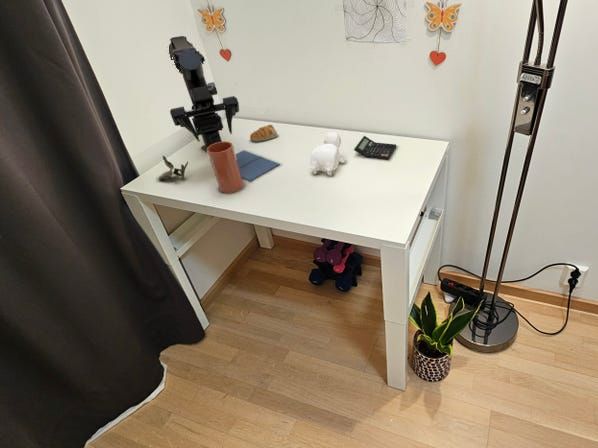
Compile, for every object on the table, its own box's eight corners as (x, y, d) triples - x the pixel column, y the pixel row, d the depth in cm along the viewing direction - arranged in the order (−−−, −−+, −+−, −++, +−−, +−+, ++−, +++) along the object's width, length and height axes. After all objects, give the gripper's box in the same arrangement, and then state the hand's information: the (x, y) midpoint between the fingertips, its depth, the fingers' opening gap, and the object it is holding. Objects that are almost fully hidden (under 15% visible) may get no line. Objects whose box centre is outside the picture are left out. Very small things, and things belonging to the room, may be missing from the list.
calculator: (388, 160, 126) (388, 151, 125) (354, 156, 130) (353, 147, 128) (396, 146, 133) (396, 138, 132) (363, 143, 137) (363, 135, 135)
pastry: (255, 144, 140) (253, 134, 138) (247, 139, 145) (244, 129, 142) (279, 136, 145) (277, 126, 142) (270, 131, 149) (268, 121, 147)
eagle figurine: (193, 167, 127) (167, 160, 128) (183, 156, 120) (156, 150, 121) (184, 188, 125) (158, 182, 126) (174, 179, 118) (146, 172, 119)
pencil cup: (215, 188, 118) (201, 149, 110) (234, 178, 122) (222, 139, 115) (229, 195, 115) (216, 155, 107) (248, 184, 119) (237, 145, 111)
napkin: (214, 166, 129) (214, 164, 129) (243, 151, 137) (243, 150, 136) (250, 181, 120) (250, 180, 120) (279, 164, 128) (279, 163, 127)
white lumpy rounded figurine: (337, 182, 123) (350, 146, 130) (331, 165, 116) (345, 127, 123) (312, 180, 125) (326, 144, 132) (304, 162, 118) (319, 125, 125)
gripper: (158, 80, 106) (176, 133, 105) (228, 67, 112) (246, 117, 111) (166, 100, 117) (183, 149, 115) (230, 87, 123) (247, 133, 122)
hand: (215, 137), depth 116 cm, fingers open, 9 cm apart
